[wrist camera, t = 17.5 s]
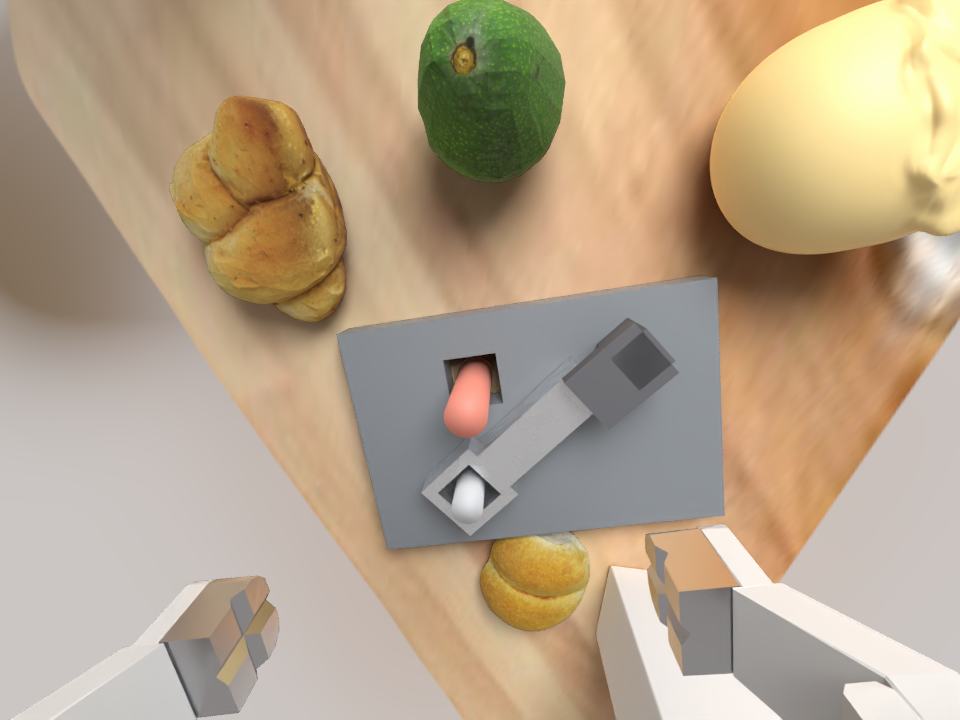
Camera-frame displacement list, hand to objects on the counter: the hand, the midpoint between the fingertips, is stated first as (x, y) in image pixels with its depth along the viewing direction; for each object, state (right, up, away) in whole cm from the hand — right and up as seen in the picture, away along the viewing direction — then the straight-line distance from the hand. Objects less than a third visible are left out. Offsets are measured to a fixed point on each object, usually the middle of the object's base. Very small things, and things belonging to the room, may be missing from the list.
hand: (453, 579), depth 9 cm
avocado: (+1, +20, +20) cm, 28 cm away
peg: (0, +4, +23) cm, 24 cm away
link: (+3, -1, +22) cm, 22 cm away
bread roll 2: (+5, -12, +28) cm, 31 cm away
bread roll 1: (-13, +14, +22) cm, 29 cm away
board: (+5, +1, +24) cm, 24 cm away
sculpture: (+20, +17, +19) cm, 33 cm away
